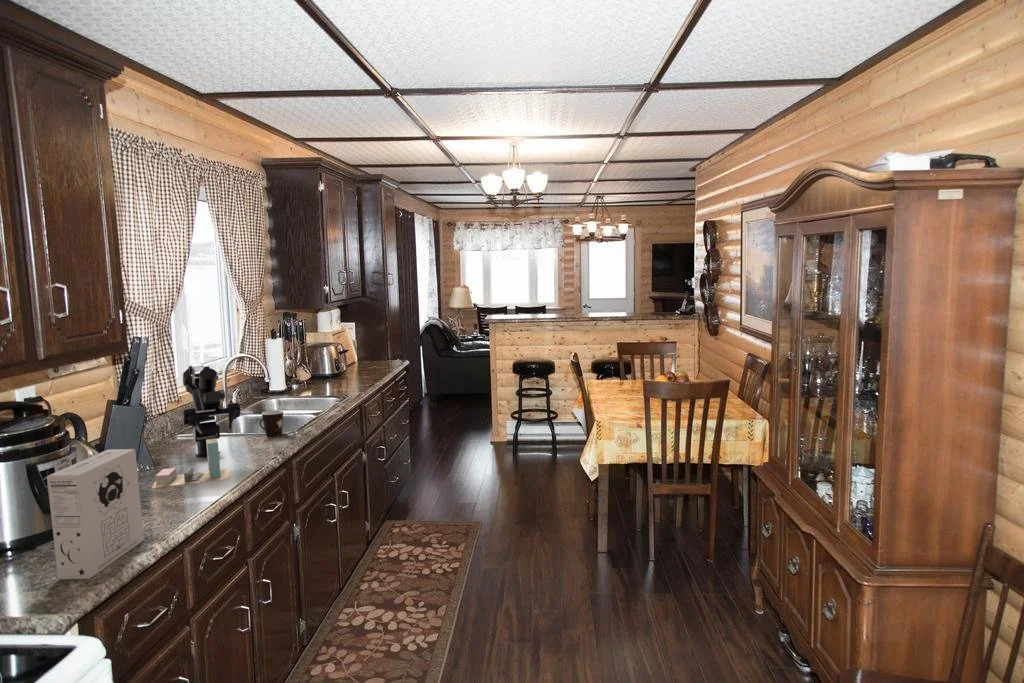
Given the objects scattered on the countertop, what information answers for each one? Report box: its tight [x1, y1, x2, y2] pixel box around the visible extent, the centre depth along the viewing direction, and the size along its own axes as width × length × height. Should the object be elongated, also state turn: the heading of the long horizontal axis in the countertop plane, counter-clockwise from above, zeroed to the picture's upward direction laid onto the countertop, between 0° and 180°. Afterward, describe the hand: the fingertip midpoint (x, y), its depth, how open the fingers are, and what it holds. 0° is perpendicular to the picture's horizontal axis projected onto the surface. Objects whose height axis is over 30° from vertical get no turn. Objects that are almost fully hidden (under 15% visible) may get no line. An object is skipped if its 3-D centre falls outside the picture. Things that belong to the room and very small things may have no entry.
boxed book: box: [206, 439, 221, 479], centre depth 222 cm, size 6×3×12 cm, turn 29°
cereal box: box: [46, 448, 145, 580], centre depth 160 cm, size 22×8×25 cm, turn 178°
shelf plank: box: [151, 468, 232, 489], centre depth 220 cm, size 23×12×1 cm, turn 110°
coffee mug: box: [259, 409, 284, 438], centre depth 278 cm, size 12×9×10 cm
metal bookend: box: [183, 466, 203, 482], centre depth 219 cm, size 7×4×3 cm, turn 11°
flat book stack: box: [155, 467, 178, 485], centre depth 218 cm, size 8×4×3 cm, turn 11°
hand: (216, 431), depth 229 cm, fingers open, 9 cm apart
